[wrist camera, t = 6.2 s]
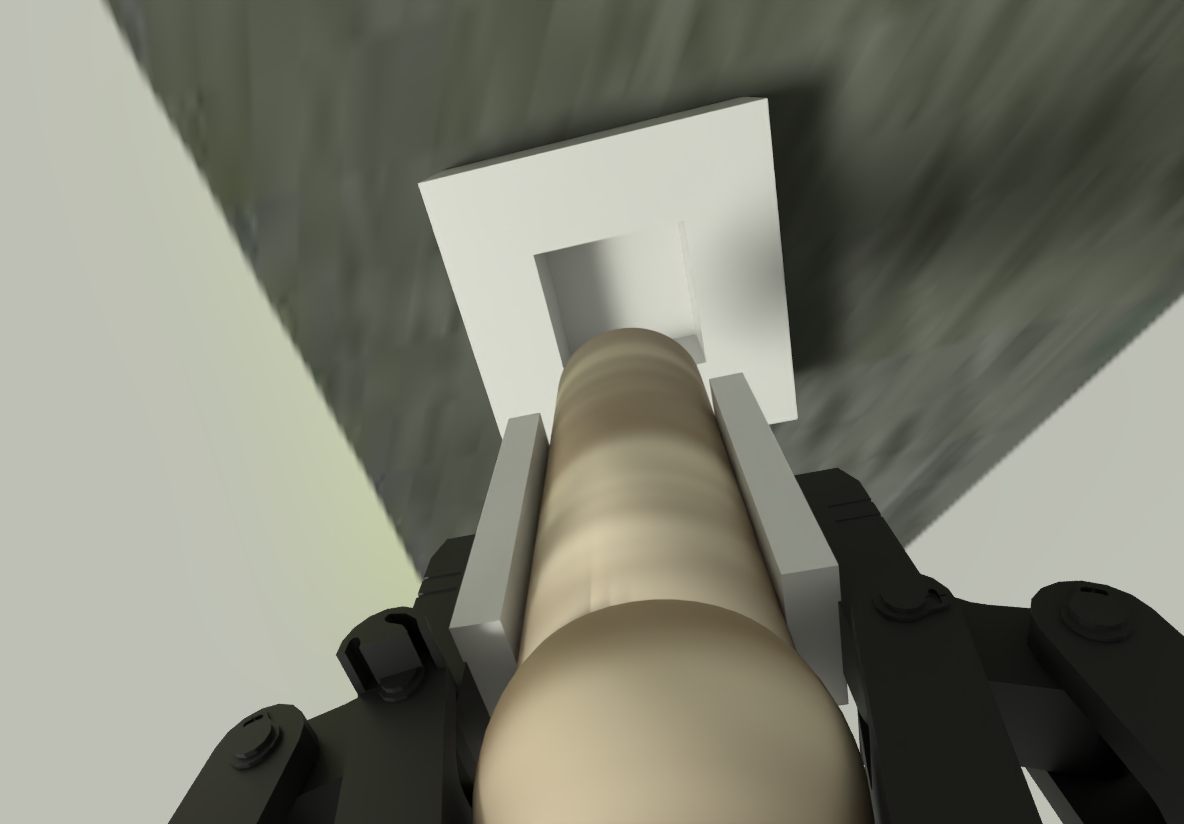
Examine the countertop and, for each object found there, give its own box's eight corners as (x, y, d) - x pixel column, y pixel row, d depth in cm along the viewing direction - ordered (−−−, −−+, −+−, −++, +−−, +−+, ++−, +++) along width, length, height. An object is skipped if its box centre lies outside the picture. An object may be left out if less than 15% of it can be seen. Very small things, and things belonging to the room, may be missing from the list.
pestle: (528, 336, 17) (345, 937, 5) (701, 300, 16) (970, 870, 4) (568, 480, 19) (510, 1162, 7) (724, 452, 18) (954, 1133, 6)
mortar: (443, 170, 26) (418, 183, 22) (743, 96, 24) (767, 98, 21) (523, 428, 31) (513, 472, 27) (774, 379, 30) (797, 419, 26)
